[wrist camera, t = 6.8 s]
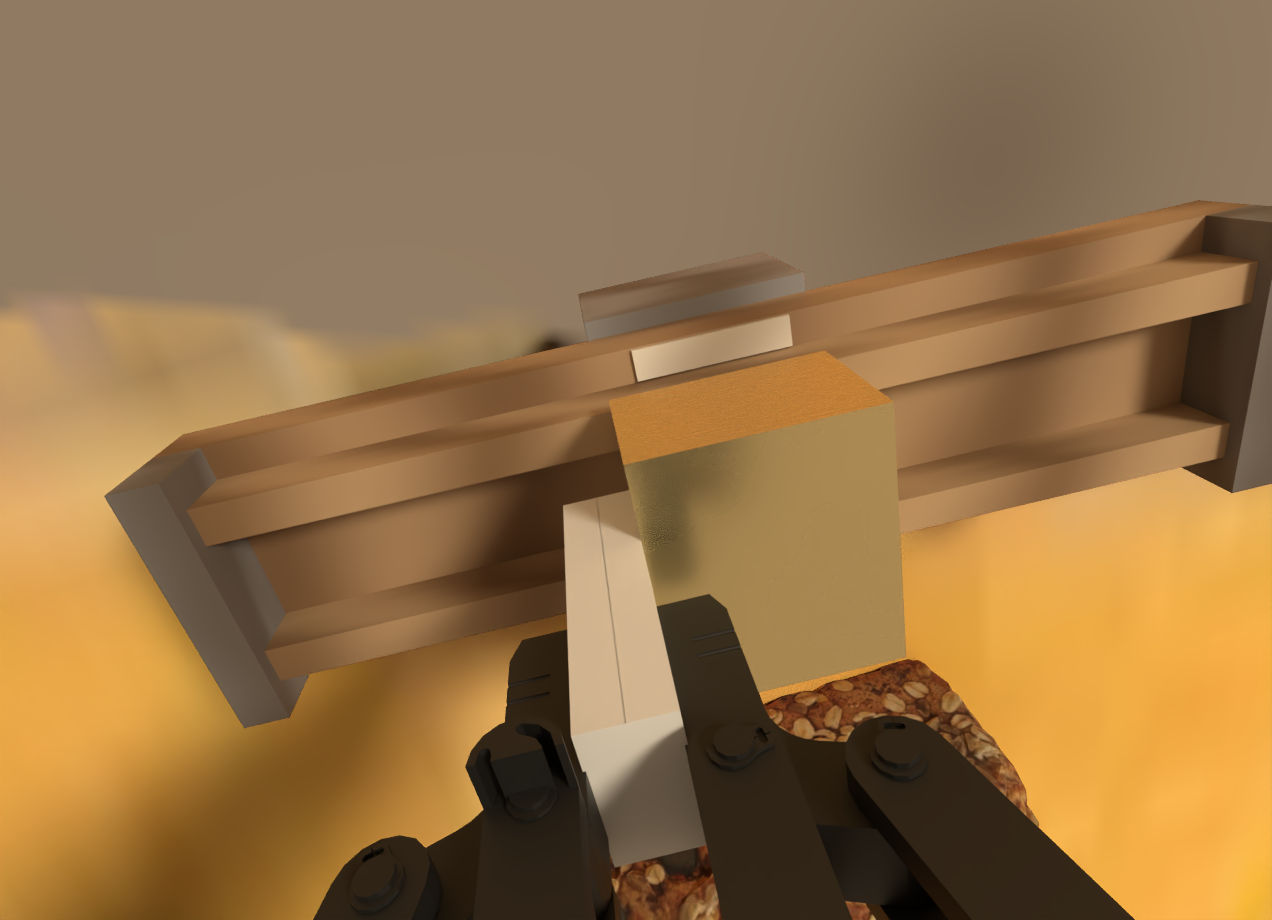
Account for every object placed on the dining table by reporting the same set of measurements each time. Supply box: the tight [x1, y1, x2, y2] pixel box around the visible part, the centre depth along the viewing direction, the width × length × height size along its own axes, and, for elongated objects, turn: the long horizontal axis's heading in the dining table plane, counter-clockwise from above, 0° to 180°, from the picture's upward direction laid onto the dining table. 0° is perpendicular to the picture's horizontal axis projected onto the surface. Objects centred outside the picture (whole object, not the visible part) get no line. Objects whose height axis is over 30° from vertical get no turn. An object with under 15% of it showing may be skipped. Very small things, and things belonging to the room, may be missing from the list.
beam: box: [104, 200, 1272, 728], centre depth 20 cm, size 28×8×8 cm, turn 102°
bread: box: [609, 659, 1039, 920], centre depth 28 cm, size 19×11×10 cm, turn 106°
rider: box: [609, 350, 906, 692], centre depth 16 cm, size 5×6×5 cm
